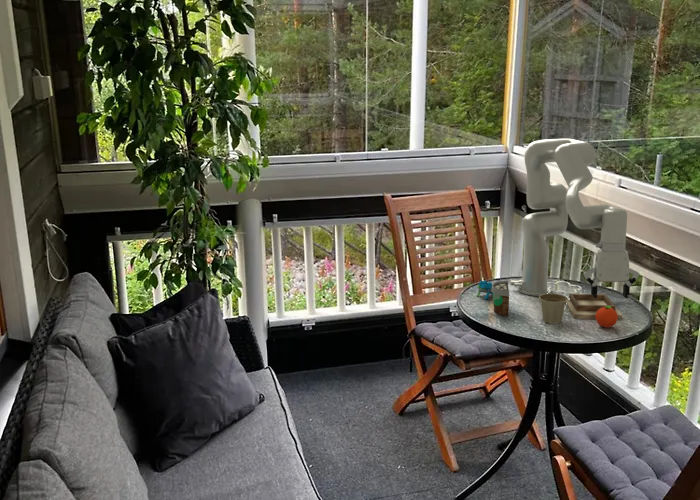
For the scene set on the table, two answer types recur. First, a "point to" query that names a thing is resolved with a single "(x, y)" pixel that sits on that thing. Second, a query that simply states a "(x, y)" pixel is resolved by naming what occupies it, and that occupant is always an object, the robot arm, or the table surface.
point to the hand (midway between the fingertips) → (609, 297)
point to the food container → (501, 298)
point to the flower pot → (552, 307)
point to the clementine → (606, 317)
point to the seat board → (589, 305)
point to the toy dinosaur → (485, 288)
